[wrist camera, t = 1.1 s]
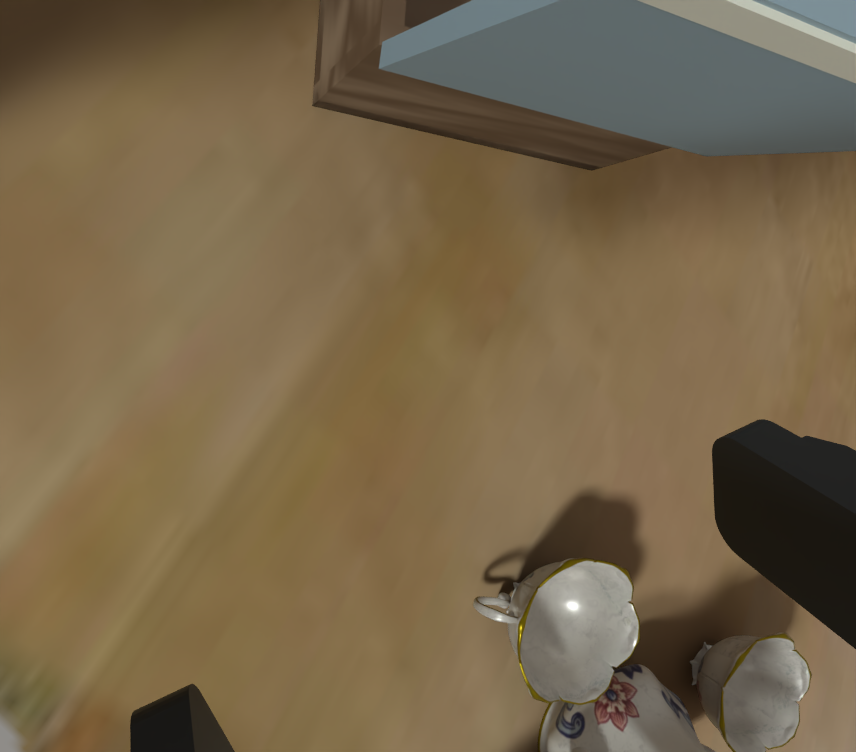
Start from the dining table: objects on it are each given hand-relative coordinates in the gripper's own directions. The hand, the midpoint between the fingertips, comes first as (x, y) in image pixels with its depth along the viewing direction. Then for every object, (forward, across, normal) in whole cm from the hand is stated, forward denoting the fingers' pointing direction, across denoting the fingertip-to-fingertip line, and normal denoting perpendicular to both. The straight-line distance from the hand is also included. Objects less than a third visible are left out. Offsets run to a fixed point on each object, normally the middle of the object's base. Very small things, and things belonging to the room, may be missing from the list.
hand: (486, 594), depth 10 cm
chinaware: (+22, -12, +35) cm, 43 cm away
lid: (+14, -16, -3) cm, 22 cm away
